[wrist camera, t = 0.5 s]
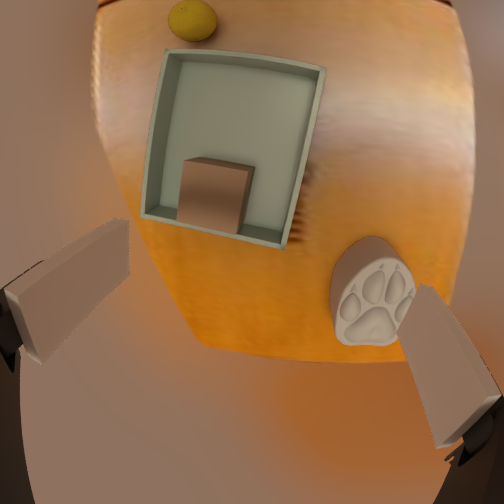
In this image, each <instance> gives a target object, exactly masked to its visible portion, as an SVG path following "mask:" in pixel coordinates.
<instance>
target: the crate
mask: <svg viewBox="0 0 504 504" xmlns="http://www.w3.org/2000/svg"><path fill="white" fill-rule="evenodd" d="M325 73H326V68H325V67H321V66H317V65H313V64H309V63H304V62H300V61H295V60H290V59H284V58H279V57H273V56H267V55H260V54H252V53H244V52H234V51H223V50H206V49H165V53H164V57H163V61H162V66H161V70H160V74H159V79H158V84H157V88H156V94H155V99H154V104H153V110H152V115H151V122H150V128H149V135H148V142H147V149H146V157H145V166H144V175H143V186H142V198H141V212H140V217H141V218H145V219H150V220H154V221H159V222H163V223H168V224H172V225H177V226H181V227H185V228H190V229H194V230H199V231H203V232H207V233H212V234H216V235H220V236H225V237H229V238H234V239H238V240H242V241H246V242H251V243H255V244H259V245H264V246H268V247H272V248H276V249H281V250H285V247H286V243H287V239H288V235H289V231H290V227H291V223H292V219H293V215H294V211H295V207H296V203H297V199H298V195H299V191H300V186H301V182H302V178H303V174H304V170H305V165H306V161H307V157H308V152H309V148H310V143H311V139H312V134H313V130H314V125H315V121H316V116H317V111H318V107H319V102H320V97H321V92H322V87H323V83H324V78H325ZM197 157H206V158H212V159H218V160H224V161H229V162H234V163H240V164H245V165H250V166H255V171H254V176H253V181H252V186H251V191H250V196H249V201H248V206H247V211H246V216H245V220H244V222H243V224H242V225H241V227H240V229H239V231H238V232H237V234H236V235H234V234H229V233H225V232H221V231H216V230H212V229H207V228H203V227H199V226H194V225H190V224H185V223H181V222H176V219H177V210H178V201H179V193H180V185H181V178H182V170H183V163H184V160H188V159H192V158H197Z"/></svg>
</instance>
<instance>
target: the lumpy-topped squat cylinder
mask: <svg viewBox="0 0 504 504" xmlns="http://www.w3.org/2000/svg"><path fill="white" fill-rule="evenodd" d="M415 294H416V286H415V282H414V278H413V275H412V273H411V271H410V269H409V268H408V267H407V265H406V264H405V263H404V261H403V260H402V259H401V258H400V256H399V255H398V254H397V253H396V252H395V250H394V249H393V248H392V247H391V245H390V244H389V243H388V242H387V241H385V240H384V239H382V238H380V237H376V236H370V237H366V238H363V239H361V240H359V241H357V242H356V243H354V244H353V245H352V246H350V247H349V248H348V249H347V250H346V252H345V253H344V254H343V255H342V256H341V258H340V259H339V260H338V262H337V263H336V265H335V267H334V271H333V275H332V279H331V285H330V295H329V303H330V308H331V314H332V319H333V325H334V331H335V335H336V337H337V339H338V340H339V341H340V342H341V343H342V344H344V345H348V346H356V345H375V346H387V345H389V344H391V343H393V342H394V341H396V340H397V339H398V336H397V334H396V332H397V330H398V328H399V326H400V324H401V322H402V320H403V318H404V316H405V314H406V312H407V310H408V308H409V306H410V304H411V302H412V300H413V298H414V296H415Z"/></svg>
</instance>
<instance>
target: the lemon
mask: <svg viewBox="0 0 504 504" xmlns="http://www.w3.org/2000/svg"><path fill="white" fill-rule="evenodd" d="M168 23H169V27H170V29H171V30H172V32H173V33H174V34H175V35H176V36H177V37H179V38H181V39H183V40H185V41H191V42H192V41H200V40H203V39H205V38H207V37H208V36H210V35H211V34H212V33H213V32H214V30H215V28H216V25H217V16H216V14H215V11H214V10H213V9H212V8H211V7H210V6H209V5H208V4H206V3H205V2H203V1H200V0H185V1H182V2H180V3H178V4H177V5H176V6H174V7H173V9H172V10H171V11H170V14H169V17H168Z"/></svg>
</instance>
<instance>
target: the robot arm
mask: <svg viewBox="0 0 504 504" xmlns="http://www.w3.org/2000/svg"><path fill="white" fill-rule="evenodd" d="M129 274H130V272H129V221H128V220H124V219H119V218H114V219H112V220H110V221H108V222H106V223H105V224H103V225H101V226H99V227H98V228H96V229H94V230H92V231H91V232H89V233H87V234H85V235H84V236H82V237H80V238H79V239H77V240H75V241H74V242H72V243H70V244H69V245H67V246H66V247H64V248H62V249H61V250H59V251H58V252H56V253H54V254H53V255H52V256H50V257H48V258H47V259H45V260H43V261H40V262H38V263H37V264H35V265H34V266H33V267H31V269H28V270H27V271H25V272H24V273H23V274H21V275H19V276H18V277H17V278H15V279H14V280H12V281H11V282H10V283H8V284H7V285H6V286H4V287H3V288H2V289H0V504H35V501H34V498H33V494H32V490H31V486H30V481H29V477H28V471H27V466H26V460H25V454H24V447H23V438H22V428H21V415H20V359H21V356H20V351H19V349H18V348H19V347H20V346H21V345H22V344H23V345H24V347H25V350H26V352H27V354H28V356H29V357H30V358H32V359H33V360H35V361H37V362H38V363H40V364H41V365H43V364H44V363H45V362H46V361H47V360H48V359H49V358H50V356H51V355H52V354H53V353H54V352H55V351H56V350H57V349H58V348H59V346H60V345H61V344H62V343H63V342H64V341H65V340H66V339H67V338H68V337H69V336H70V334H71V333H72V332H73V331H74V330H75V329H76V328H77V327H78V326H79V325H80V324H81V323H82V322H83V321H84V320H85V319H86V318H87V317H88V316H89V315H90V313H91V312H92V311H93V310H94V309H95V308H96V307H97V306H98V305H99V304H100V303H101V302H102V301H103V300H104V299H105V298H106V297H107V296H108V295H109V294H110V293H111V292H112V291H113V290H114V289H115V288H116V287H117V286H119V285H120V284H121V283H122V282H123V281H124V280H125V279H126V278H127V277H128V276H129ZM396 334H397V336H398V338H399V341H400V343H401V346H402V348H403V351H404V353H405V356H406V358H407V361H408V364H409V366H410V369H411V372H412V374H413V377H414V380H415V382H416V386H417V388H418V391H419V394H420V397H421V400H422V403H423V406H424V409H425V413H426V416H427V419H428V423H429V426H430V429H431V433H432V436H433V440H434V444H435V448H436V449H437V448H442V447H448V446H451V445H453V444H454V443H455V442H456V441H457V440H458V439H459V438H460V437H463V440H464V442H463V443H462V444H461V445H460V446H459V447H458V448H456V449H455V450H454V451H453V452H452V453H450V454H449V455H448V456H447V457H446V458H445V461H447V460H449V459H450V458H451V457H452V456H455V457H454V459H453V460H452V461H450V462H449V463H450V464H451V467H450V469H449V472H448V474H447V476H446V478H445V481H444V483H443V485H442V487H441V489H440V491H439V493H438V495H437V497H436V499H435V501H434V503H433V504H504V397H503V395H502V393H501V391H500V389H499V387H498V385H497V383H496V382H495V380H494V378H493V376H492V374H490V371H489V369H488V367H486V364H485V362H484V361H483V359H482V357H481V356H480V355H479V353H478V352H477V350H476V349H475V347H474V345H473V344H472V342H471V341H470V339H469V337H468V336H467V334H466V333H465V331H464V330H463V328H462V327H461V325H460V324H459V322H458V321H457V320H456V318H455V317H454V315H453V314H452V312H451V311H450V310H449V308H448V307H447V305H446V304H445V303H444V301H443V300H442V299H441V297H440V296H439V294H438V293H437V292H436V290H435V289H434V288H433V287H432V286H427V285H423V284H420V285H419V287H418V289H417V292H416V294H415V296H414V298H413V300H412V302H411V304H410V306H409V308H408V310H407V312H406V314H405V316H404V318H403V320H402V322H401V324H400V326H399V328H398V330H397V332H396Z"/></svg>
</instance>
